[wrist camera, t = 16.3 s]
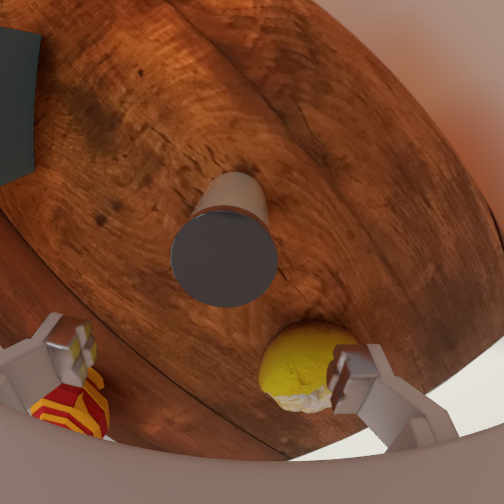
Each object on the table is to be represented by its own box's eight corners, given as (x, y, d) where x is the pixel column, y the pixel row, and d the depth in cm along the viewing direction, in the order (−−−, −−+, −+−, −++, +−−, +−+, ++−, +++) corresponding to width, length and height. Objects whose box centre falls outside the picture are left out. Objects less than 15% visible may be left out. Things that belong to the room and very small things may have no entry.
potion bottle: (41, 349, 34) (-10, 432, 20) (100, 347, 33) (51, 449, 19) (77, 401, 38) (44, 481, 25) (135, 404, 37) (108, 498, 24)
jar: (240, 156, 25) (232, 187, 15) (280, 209, 26) (298, 272, 16) (187, 197, 26) (148, 253, 16) (228, 245, 28) (216, 323, 18)
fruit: (250, 388, 35) (252, 430, 27) (266, 304, 33) (272, 332, 25) (340, 395, 35) (360, 433, 27) (363, 316, 34) (393, 343, 26)
